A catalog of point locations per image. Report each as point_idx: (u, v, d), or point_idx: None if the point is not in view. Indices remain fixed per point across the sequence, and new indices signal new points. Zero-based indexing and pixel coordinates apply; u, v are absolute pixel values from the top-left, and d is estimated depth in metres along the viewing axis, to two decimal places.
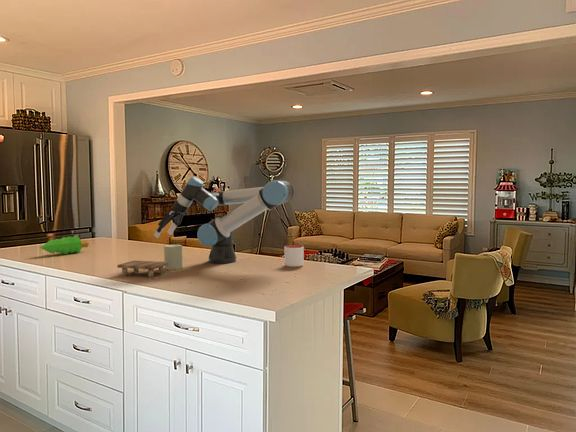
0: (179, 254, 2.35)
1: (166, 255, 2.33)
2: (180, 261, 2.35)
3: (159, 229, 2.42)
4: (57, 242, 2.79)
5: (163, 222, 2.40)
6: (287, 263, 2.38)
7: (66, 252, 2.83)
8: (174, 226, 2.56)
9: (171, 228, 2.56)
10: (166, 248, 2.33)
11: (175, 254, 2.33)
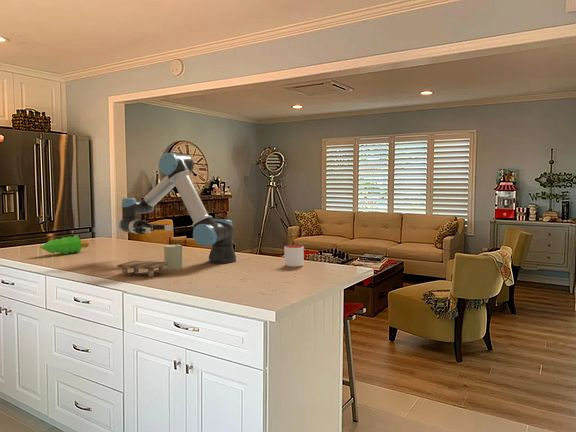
0: (179, 254, 2.35)
1: (166, 255, 2.33)
2: (180, 261, 2.35)
3: (141, 229, 2.39)
4: (57, 242, 2.79)
5: (135, 228, 2.42)
6: (287, 263, 2.38)
7: (66, 252, 2.83)
8: (165, 226, 2.51)
9: (167, 228, 2.50)
10: (166, 248, 2.33)
11: (175, 254, 2.33)
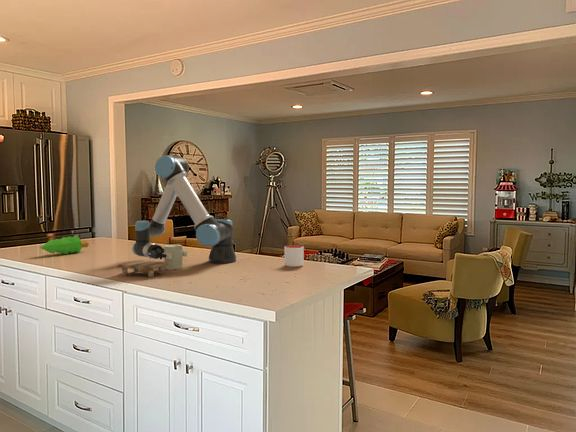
0: (179, 254, 2.35)
1: None
2: (180, 261, 2.35)
3: (162, 255, 2.32)
4: (57, 242, 2.79)
5: (154, 254, 2.35)
6: (287, 263, 2.38)
7: (66, 252, 2.83)
8: None
9: None
10: (166, 248, 2.33)
11: (175, 254, 2.33)
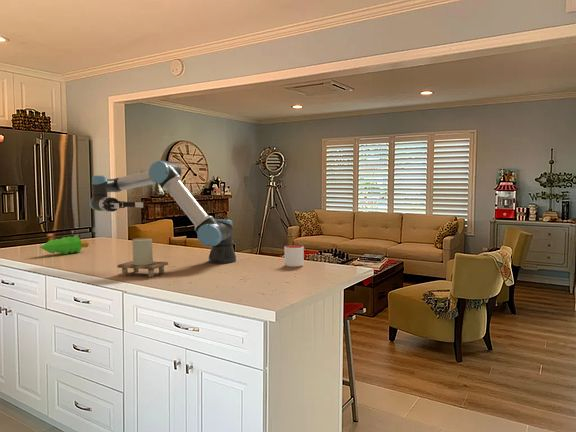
0: (148, 248, 2.19)
1: (134, 249, 2.17)
2: (149, 256, 2.19)
3: (110, 205, 2.33)
4: (57, 242, 2.79)
5: None
6: (287, 263, 2.38)
7: (66, 252, 2.83)
8: (136, 203, 2.45)
9: (138, 205, 2.44)
10: (134, 242, 2.17)
11: (144, 248, 2.17)
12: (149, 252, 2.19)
